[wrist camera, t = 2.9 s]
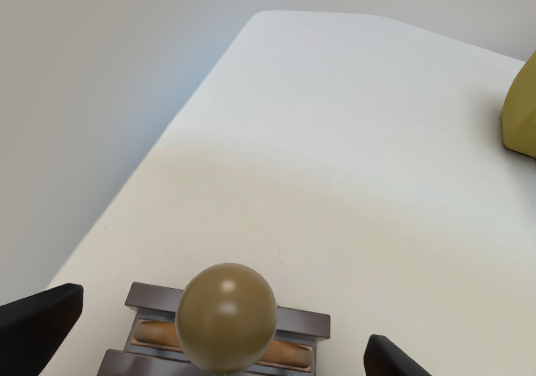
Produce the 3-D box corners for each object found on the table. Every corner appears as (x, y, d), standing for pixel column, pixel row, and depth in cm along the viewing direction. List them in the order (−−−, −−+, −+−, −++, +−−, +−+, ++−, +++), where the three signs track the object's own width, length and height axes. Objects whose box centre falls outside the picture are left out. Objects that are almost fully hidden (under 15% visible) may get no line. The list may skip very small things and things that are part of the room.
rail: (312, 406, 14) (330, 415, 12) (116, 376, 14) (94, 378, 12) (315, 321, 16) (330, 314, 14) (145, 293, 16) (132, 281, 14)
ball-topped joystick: (305, 379, 15) (527, 425, 4) (132, 352, 14) (-132, 322, 4) (307, 340, 16) (490, 294, 5) (146, 314, 15) (-33, 202, 5)
